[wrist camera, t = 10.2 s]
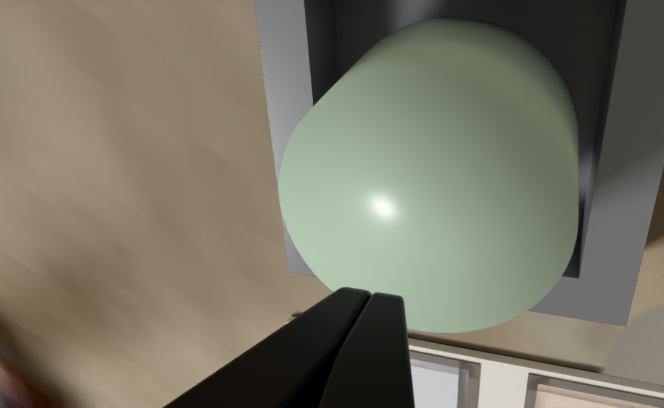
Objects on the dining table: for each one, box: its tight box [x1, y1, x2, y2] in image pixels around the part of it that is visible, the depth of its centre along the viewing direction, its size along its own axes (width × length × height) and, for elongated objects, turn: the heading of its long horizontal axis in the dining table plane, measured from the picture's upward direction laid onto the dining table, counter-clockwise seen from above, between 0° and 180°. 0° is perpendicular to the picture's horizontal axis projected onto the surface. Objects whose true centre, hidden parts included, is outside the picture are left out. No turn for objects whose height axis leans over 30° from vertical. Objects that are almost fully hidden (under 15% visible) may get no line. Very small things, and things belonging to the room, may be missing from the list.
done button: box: [279, 17, 579, 333], centre depth 11 cm, size 5×5×3 cm
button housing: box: [254, 0, 664, 327], centre depth 13 cm, size 8×8×3 cm
